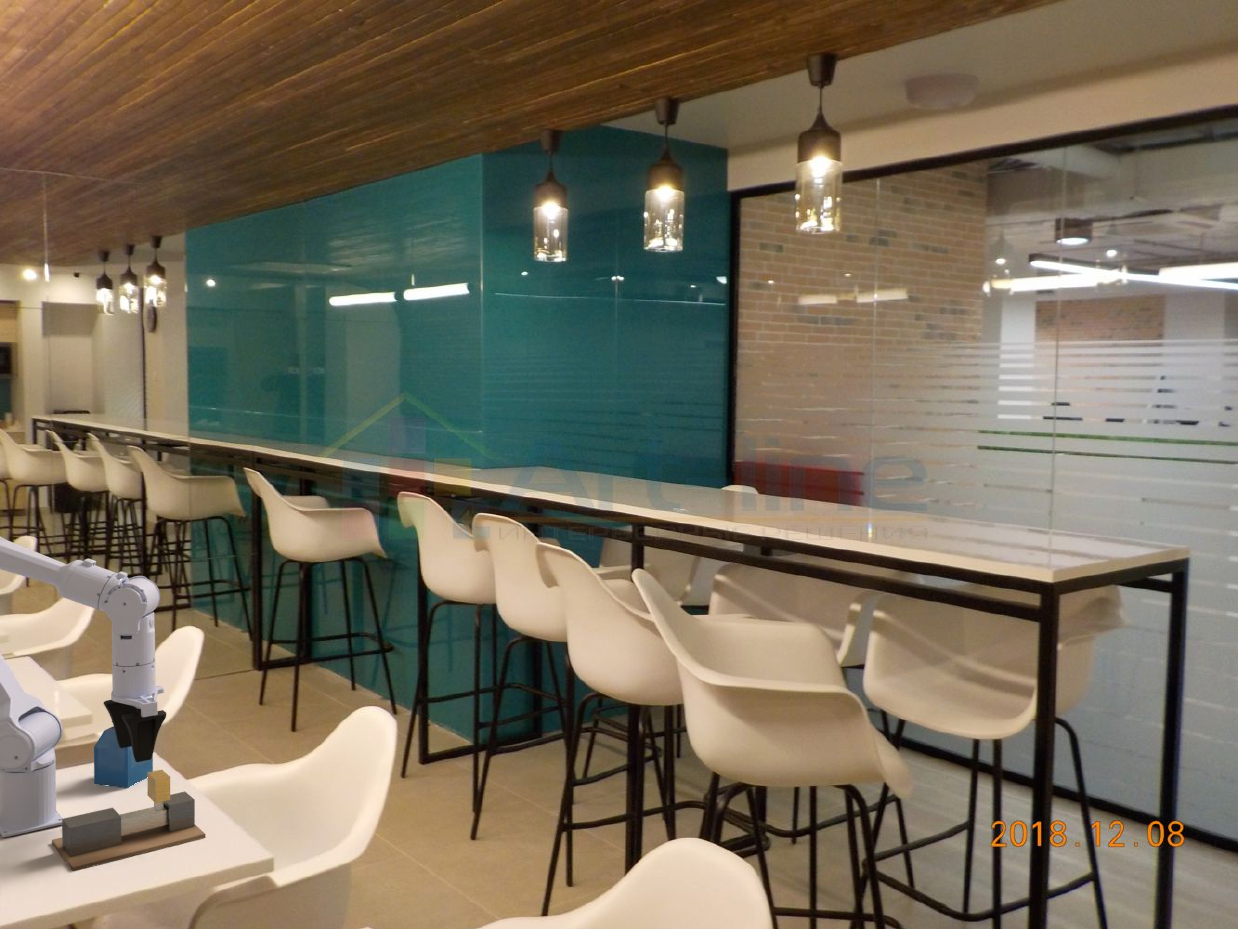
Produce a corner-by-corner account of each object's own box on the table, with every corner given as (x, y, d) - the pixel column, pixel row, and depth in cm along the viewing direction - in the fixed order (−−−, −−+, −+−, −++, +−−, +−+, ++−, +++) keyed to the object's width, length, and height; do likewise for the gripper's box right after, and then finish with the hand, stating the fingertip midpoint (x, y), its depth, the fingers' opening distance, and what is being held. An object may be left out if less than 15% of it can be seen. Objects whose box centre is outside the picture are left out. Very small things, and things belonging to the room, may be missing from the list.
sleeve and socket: (62, 847, 144) (62, 818, 144) (185, 818, 155) (185, 791, 155) (69, 857, 141) (69, 828, 141) (194, 826, 152) (194, 799, 152)
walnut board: (52, 843, 147) (51, 839, 147) (179, 813, 158) (179, 810, 158) (72, 871, 138) (72, 867, 138) (205, 837, 150) (205, 834, 150)
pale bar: (106, 831, 148) (105, 781, 147) (178, 814, 154) (178, 766, 154) (113, 839, 145) (113, 788, 145) (187, 821, 152) (187, 773, 151)
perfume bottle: (128, 788, 167) (127, 714, 167) (94, 784, 169) (93, 711, 168) (152, 775, 173) (152, 703, 173) (119, 771, 175) (119, 700, 174)
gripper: (179, 667, 150) (180, 760, 151) (146, 648, 161) (148, 735, 162) (126, 675, 145) (128, 771, 146) (97, 655, 156) (98, 744, 157)
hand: (135, 753), depth 154 cm, fingers open, 7 cm apart
